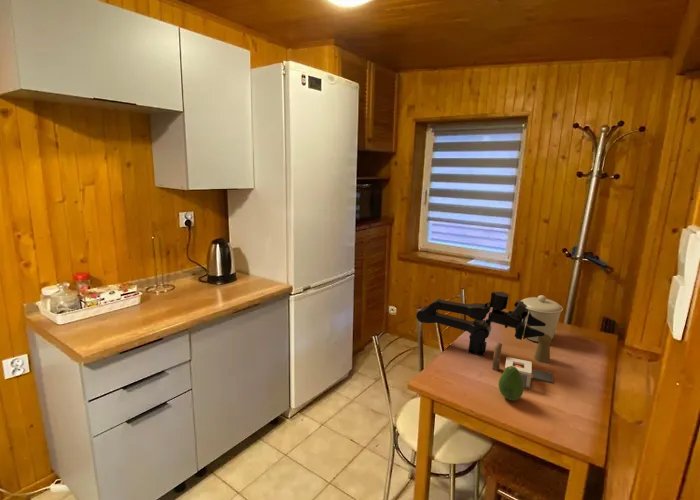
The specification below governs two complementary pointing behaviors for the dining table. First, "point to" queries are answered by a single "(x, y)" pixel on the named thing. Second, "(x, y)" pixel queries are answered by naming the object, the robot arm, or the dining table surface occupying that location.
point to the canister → (543, 314)
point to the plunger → (518, 366)
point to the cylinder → (497, 356)
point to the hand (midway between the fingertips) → (545, 329)
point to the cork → (543, 349)
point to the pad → (542, 376)
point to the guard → (521, 369)
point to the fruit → (511, 384)
